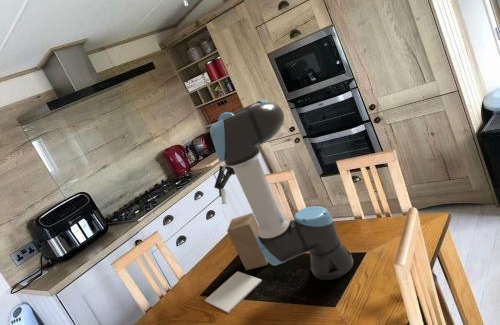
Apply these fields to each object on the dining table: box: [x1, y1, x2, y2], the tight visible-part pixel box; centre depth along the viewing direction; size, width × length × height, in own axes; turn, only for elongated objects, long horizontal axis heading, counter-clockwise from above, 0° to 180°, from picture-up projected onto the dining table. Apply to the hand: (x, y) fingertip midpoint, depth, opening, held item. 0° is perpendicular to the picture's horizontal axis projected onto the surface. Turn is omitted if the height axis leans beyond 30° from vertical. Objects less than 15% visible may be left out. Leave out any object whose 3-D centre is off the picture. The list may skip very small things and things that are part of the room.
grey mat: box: [204, 271, 263, 314], centre depth 144 cm, size 16×18×1 cm
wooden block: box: [226, 212, 269, 271], centre depth 155 cm, size 10×10×20 cm
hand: (238, 201), depth 156 cm, fingers open, 13 cm apart
